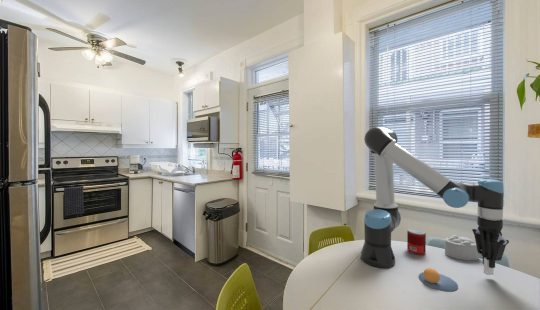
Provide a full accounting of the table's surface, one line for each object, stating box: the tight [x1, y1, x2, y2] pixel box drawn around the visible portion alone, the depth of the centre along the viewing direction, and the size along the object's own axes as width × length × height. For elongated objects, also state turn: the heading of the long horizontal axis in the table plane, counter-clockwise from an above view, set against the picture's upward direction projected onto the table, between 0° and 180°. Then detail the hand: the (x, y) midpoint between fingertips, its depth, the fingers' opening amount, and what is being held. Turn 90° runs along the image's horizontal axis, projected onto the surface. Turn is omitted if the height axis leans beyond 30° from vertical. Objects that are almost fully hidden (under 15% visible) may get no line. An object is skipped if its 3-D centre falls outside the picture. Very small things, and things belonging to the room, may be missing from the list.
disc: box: [418, 271, 459, 292], centre depth 94 cm, size 13×13×1 cm
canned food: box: [406, 227, 427, 256], centre depth 119 cm, size 8×8×11 cm
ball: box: [423, 267, 440, 283], centre depth 93 cm, size 6×6×6 cm
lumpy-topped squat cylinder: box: [444, 234, 479, 261], centre depth 115 cm, size 10×13×9 cm
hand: (488, 273), depth 95 cm, fingers closed
